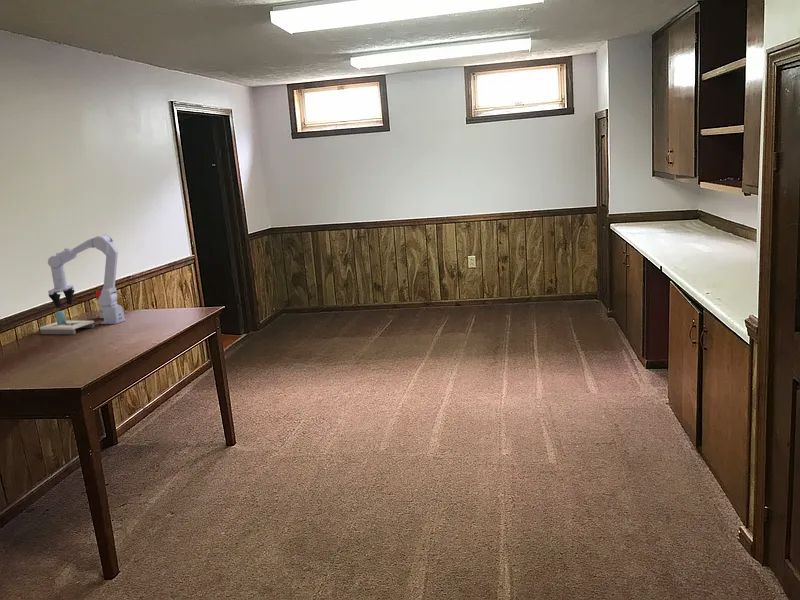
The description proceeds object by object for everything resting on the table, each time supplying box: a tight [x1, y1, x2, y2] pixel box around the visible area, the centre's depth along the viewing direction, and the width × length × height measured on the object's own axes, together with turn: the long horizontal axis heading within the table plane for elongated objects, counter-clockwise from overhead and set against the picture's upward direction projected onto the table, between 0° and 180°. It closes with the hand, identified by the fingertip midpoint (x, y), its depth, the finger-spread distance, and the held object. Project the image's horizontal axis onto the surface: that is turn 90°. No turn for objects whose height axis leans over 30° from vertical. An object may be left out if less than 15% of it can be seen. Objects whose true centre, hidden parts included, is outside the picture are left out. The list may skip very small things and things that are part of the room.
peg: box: [54, 310, 67, 325], centre depth 336 cm, size 4×4×9 cm
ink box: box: [95, 290, 118, 319], centre depth 362 cm, size 8×5×15 cm, turn 84°
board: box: [39, 320, 95, 335], centre depth 336 cm, size 20×14×4 cm
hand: (64, 305), depth 345 cm, fingers open, 7 cm apart
